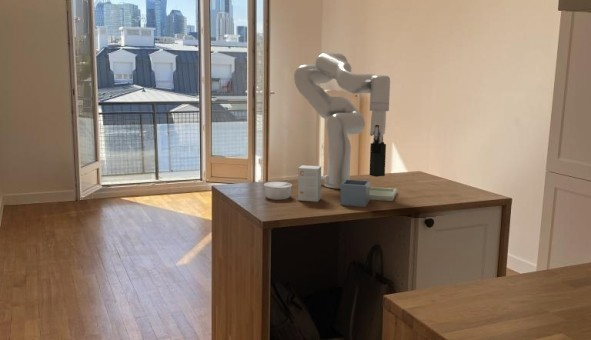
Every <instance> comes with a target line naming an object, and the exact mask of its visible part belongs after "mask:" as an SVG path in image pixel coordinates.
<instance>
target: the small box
mask: <svg viewBox="0 0 591 340" xmlns="http://www.w3.org/2000/svg"><path fill="white" fill-rule="evenodd" d="M297 169H298V170H297V174H298V175H297V201H301V202H303V201H304V202H317V203H318V202H319V201H320V200H321V198H322V181H321V176H322V166H319V165H303V164H301V166H299V167H298V168H297Z"/></svg>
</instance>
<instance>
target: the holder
mask: <svg viewBox="0 0 591 340" xmlns="http://www.w3.org/2000/svg"><path fill="white" fill-rule="evenodd" d="M370 187H371V181H370V180H363V179H362V180H360V179H358V180H357V179H350V180H348V179H345V180H344V181H343V182H342V183H341V189H340V198H339V201H340V203H339V205H340V206H350V207H351V206H352V207H363V208H364V207H365V208H366V207H367V205H368V204H369V202H370V199H369V193H370Z"/></svg>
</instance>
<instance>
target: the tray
mask: <svg viewBox="0 0 591 340" xmlns="http://www.w3.org/2000/svg"><path fill="white" fill-rule="evenodd" d="M396 195H397V188H389V187H375V186H370V193H369V201H370V200H371V201H386V202H393V201H394V199H395V197H396Z"/></svg>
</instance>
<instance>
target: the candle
mask: <svg viewBox="0 0 591 340" xmlns="http://www.w3.org/2000/svg"><path fill="white" fill-rule="evenodd" d="M380 143H381V153H380V154H376V153H373V142H371V143H370V149H369V150H370V151H369V153H370V154H369V156H370V157H369V176H372V177H376V178H378V177H385V174H386V158H387V157H386V155H387V153H386V152H387V151H386V150H387V144H385V142H384V141H383V142H382V136H381V142H380Z"/></svg>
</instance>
